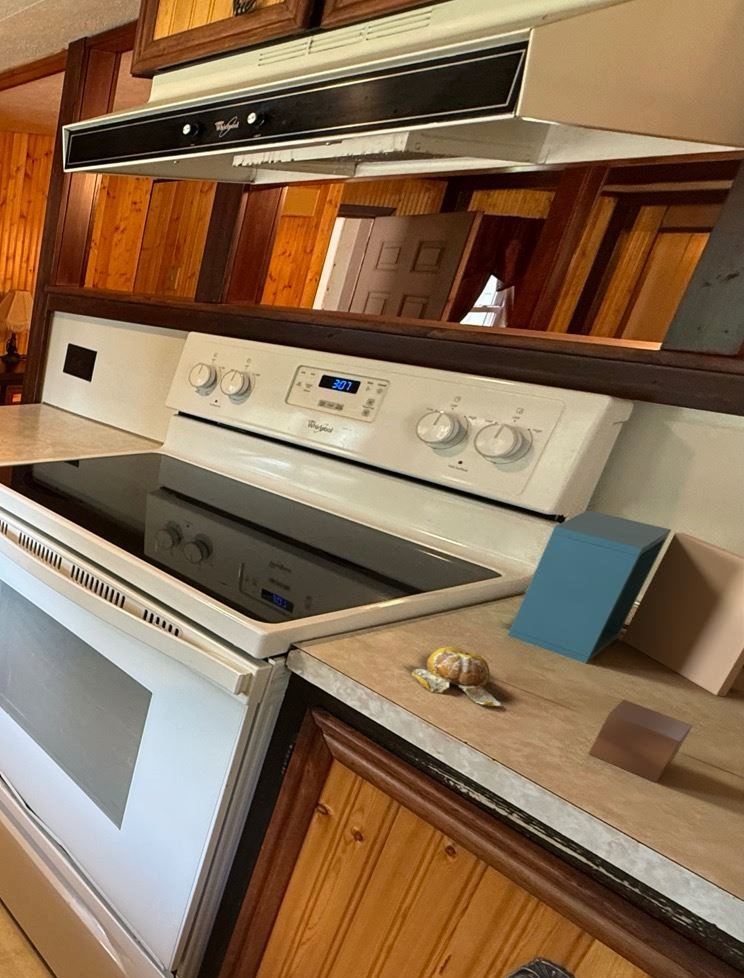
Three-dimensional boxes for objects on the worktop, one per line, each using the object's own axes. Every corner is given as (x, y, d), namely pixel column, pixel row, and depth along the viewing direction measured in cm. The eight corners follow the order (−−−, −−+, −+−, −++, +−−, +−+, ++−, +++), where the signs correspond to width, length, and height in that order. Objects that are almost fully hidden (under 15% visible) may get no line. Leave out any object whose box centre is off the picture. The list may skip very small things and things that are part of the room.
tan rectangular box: (683, 645, 97) (742, 537, 91) (788, 702, 85) (863, 581, 79) (620, 640, 97) (674, 532, 92) (716, 695, 85) (785, 575, 80)
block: (669, 765, 73) (693, 725, 71) (656, 783, 71) (679, 741, 69) (603, 738, 77) (623, 699, 75) (588, 753, 75) (608, 713, 73)
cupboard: (616, 638, 98) (671, 529, 92) (585, 664, 91) (642, 548, 85) (541, 613, 104) (587, 510, 98) (507, 636, 98) (554, 526, 92)
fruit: (411, 685, 85) (421, 658, 84) (411, 656, 92) (421, 631, 90) (501, 712, 81) (514, 684, 80) (495, 680, 87) (507, 654, 86)
